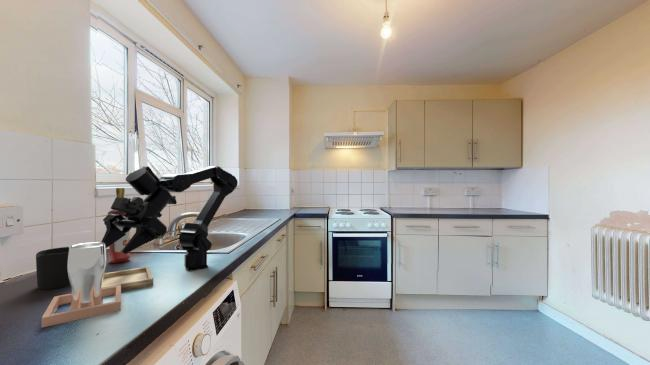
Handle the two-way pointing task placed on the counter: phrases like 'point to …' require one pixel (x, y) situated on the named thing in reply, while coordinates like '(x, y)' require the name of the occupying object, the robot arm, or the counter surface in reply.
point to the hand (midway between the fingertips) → (111, 251)
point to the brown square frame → (67, 316)
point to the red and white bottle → (119, 245)
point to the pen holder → (52, 268)
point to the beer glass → (86, 273)
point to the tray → (129, 278)
